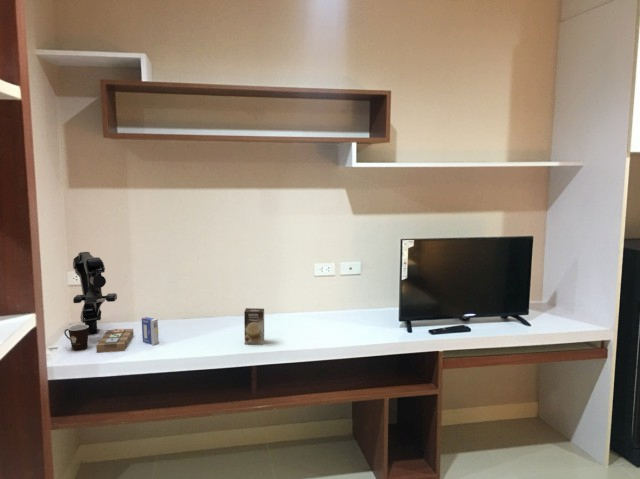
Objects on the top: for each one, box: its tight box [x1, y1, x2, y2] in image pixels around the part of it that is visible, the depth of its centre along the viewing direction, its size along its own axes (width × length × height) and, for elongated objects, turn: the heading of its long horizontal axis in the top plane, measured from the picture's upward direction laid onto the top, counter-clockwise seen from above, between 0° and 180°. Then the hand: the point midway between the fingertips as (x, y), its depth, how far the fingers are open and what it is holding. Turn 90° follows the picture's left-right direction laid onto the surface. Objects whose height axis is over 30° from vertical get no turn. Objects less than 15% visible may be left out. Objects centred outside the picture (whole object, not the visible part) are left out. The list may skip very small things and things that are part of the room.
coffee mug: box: [64, 324, 89, 352], centre depth 239 cm, size 12×9×10 cm
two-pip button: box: [112, 328, 126, 334], centre depth 251 cm, size 5×5×3 cm
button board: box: [95, 328, 135, 353], centre depth 245 cm, size 22×12×4 cm, turn 10°
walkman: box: [141, 316, 160, 345], centre depth 246 cm, size 8×3×12 cm, turn 61°
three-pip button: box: [109, 333, 122, 339], centre depth 245 cm, size 5×5×3 cm
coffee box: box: [243, 307, 265, 346], centre depth 245 cm, size 9×6×16 cm
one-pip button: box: [106, 338, 119, 344], centre depth 238 cm, size 5×5×3 cm
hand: (96, 315), depth 249 cm, fingers closed
